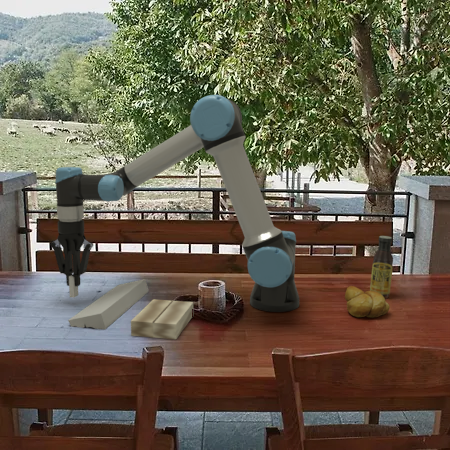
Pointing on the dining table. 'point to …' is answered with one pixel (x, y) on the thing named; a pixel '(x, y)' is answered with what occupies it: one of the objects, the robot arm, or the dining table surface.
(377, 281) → the sauce bottle
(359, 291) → the bread roll
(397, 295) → the dining table surface
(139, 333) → the floorboards
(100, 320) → the decorative molding
